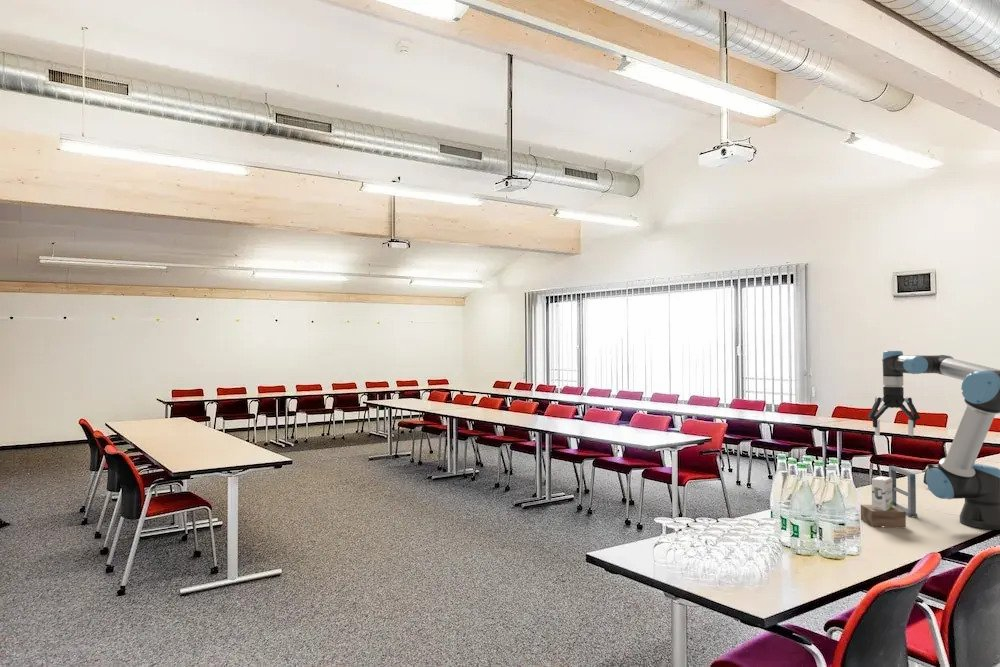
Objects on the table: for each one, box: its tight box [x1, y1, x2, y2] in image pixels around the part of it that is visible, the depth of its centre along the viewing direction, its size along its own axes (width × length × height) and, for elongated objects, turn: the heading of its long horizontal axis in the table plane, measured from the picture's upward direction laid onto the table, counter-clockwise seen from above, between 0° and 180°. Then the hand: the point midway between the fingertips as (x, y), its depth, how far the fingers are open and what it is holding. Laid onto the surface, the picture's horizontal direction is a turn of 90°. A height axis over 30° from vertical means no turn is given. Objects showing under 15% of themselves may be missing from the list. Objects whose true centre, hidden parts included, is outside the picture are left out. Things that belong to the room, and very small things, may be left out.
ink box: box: [871, 475, 892, 511], centre depth 248 cm, size 9×5×12 cm, turn 132°
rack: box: [888, 465, 918, 517], centre depth 267 cm, size 18×3×17 cm, turn 173°
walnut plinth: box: [860, 504, 907, 528], centre depth 248 cm, size 10×12×6 cm
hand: (894, 435), depth 275 cm, fingers open, 13 cm apart
